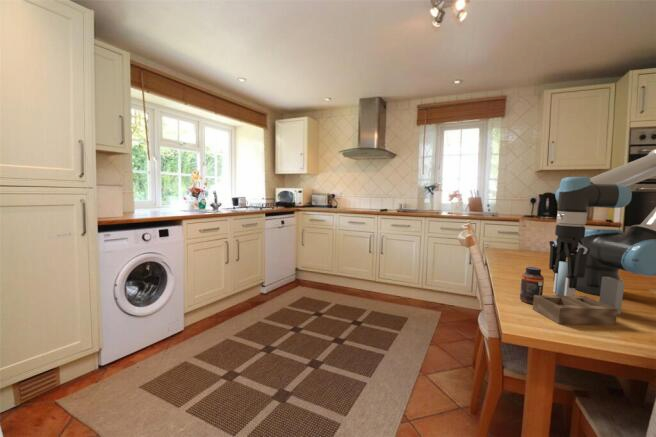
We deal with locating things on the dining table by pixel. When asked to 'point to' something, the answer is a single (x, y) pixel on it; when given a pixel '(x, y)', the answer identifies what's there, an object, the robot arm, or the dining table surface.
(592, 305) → the socket block
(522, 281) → the supplement bottle
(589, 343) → the dining table surface
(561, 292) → the dowel bit
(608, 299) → the grey rectangular block
